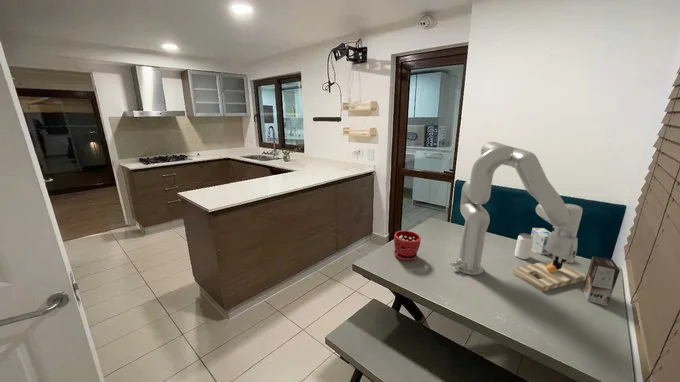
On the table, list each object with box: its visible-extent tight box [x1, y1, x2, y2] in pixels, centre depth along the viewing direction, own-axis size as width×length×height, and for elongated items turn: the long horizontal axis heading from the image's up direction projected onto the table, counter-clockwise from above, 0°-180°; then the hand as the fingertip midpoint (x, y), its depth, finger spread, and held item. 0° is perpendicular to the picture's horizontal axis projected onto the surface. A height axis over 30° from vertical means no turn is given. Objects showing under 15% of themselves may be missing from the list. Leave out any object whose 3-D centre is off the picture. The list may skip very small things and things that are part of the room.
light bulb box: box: [530, 227, 552, 256], centre depth 145 cm, size 11×7×11 cm, turn 178°
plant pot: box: [393, 230, 422, 262], centre depth 139 cm, size 13×13×12 cm
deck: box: [511, 259, 587, 293], centre depth 122 cm, size 26×14×2 cm, turn 108°
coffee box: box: [582, 255, 621, 307], centre depth 107 cm, size 9×6×16 cm
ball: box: [546, 264, 557, 273], centre depth 122 cm, size 4×4×4 cm
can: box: [514, 232, 533, 260], centre depth 138 cm, size 6×6×12 cm
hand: (556, 268), depth 123 cm, fingers closed
